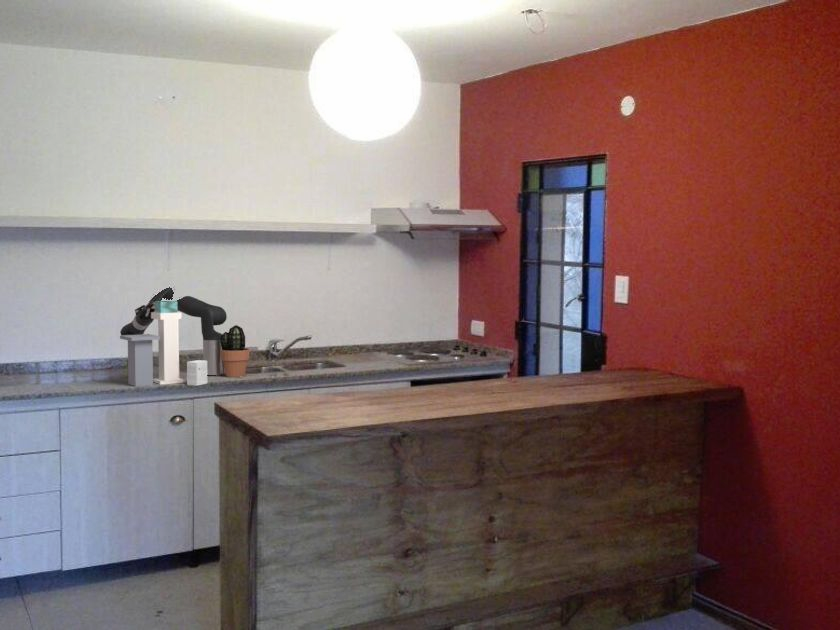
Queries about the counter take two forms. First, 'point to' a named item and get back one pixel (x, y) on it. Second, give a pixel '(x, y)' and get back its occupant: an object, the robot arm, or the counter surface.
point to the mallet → (165, 306)
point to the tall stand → (168, 347)
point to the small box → (197, 372)
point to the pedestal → (140, 359)
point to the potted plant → (234, 352)
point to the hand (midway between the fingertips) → (155, 302)
